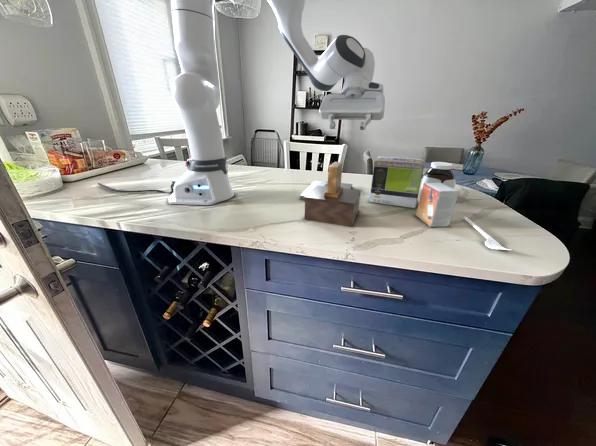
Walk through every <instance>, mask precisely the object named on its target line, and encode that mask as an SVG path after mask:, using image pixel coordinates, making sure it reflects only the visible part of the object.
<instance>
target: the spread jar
mask: <svg viewBox="0 0 596 446" xmlns="http://www.w3.org/2000/svg"><path fill="white" fill-rule="evenodd" d="M453 165H454V164H453V163H450V162H446V161H432V162H431V164H430V167H429V168H428V169H426V171H425V172H424V173H423V175H422V180H421V189H422V188H423V184H424V183H443V184H444V185H446V186H449V187H451V188H453V189H455V187H456V185H457V182H456V179H455V173H454V172H453V170H452V169H453Z"/></svg>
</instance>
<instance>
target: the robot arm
mask: <svg viewBox="0 0 596 446" xmlns="http://www.w3.org/2000/svg"><path fill="white" fill-rule="evenodd" d="M223 1H224V2H225V0H170V12H171V21H172V31H173V32H172V34H173V42H174V43H173V44H174V49H175V51H176V55H177V58H178V61H179V66H180V69H181V73H180V74H178V75H177V76H176V77H174V78H173V80H172V82H171V85H170V94H171V98H172V100H173V101H174V103H175V104H176V107H177V111H178V113H179V117H180V119H181V122H182V125H183V127H184V131H185V133H186V138H187V144H188V147H189V154H190V157H188V159H187V160H186V161H185V163H184V164H185V167H186V168H187V170H186V171H185V172H183V174H182V175H180V176H179V177H178V178H176V179H174V180H171V184H170V190H171V191H169V192H168V191H163V190H161V189H140V190H138V189H137V190H125V189H124V190H123V189H115V188H111V187H109V186H107V185H105V184H103V183H101V182H97V185H99V186H100V187H102V188H104V189H108V190H110V191H112V192H118V193H149V192H158V193H161V194H170V196H168V198H167V200H168V204H170V205H189V206H190V205H191V206H195V205H196V206H212V205H215V204H217V203H221V202H224V201H227V200H230V199H232V198H233V197H234V196H235V193H234V190H233V188H232V185H231V181H230V178H229V166H228V160H227V156H226V154H225V146H224V140H223V138H224V137H223V133H222V129H221V125H220V121H219V117H218V113H217V109H218V107H219V105H220V103H221V92H220V79H219V72H218V71H219V70H218V64H217V63H218V62H217V53H216V34H215V33H216V32H215V30H216V29H215V11H214V7H215V3H219V2H223ZM266 1H267V2H268V4H269V5H270V7H271V8H272V11H273V13H274V15H275V17H276V19H277V27H278V30H279V32H280V34H281V36H282V37H283V39H284V41H285V43H286V44H287V46H288V47H289V48H290V50H291V52H292V53H293V54H294V56H295V58H296V59H297V61H298V62H299V64H300V65H301V66H302V68H303V69H304V71H305V72H306V75H307V77H308V78H309V80H310V83H311V84H312V86H313V87H314V88H315V89H316V90H319V91H321V92H329V91H331V90H332V89H333V88H334V87H335V86H336V84H338V82H339V81H340V80H341V79H343V80H344V82H343V85H342V89H341V92H340V93H328V94H326V95H324V96H323V97H322V101H321V103H320V107H319V109H318V114H319V116H320V118H321V119H322V120H328V122H329V129H330V130H336V126H337V125H336V120H341V121H342V120H345V121H360V125H359V130H360V131H366V127H367V126H368V125H369V124H370V123H372V121H381V120H382V119H384V117H385V105H386V98H385V94H384V85H383V83H379V82H374V81H373V79H374V75H375V67H376V64H375V63H376V61H375V56H374V53H373V52H372V51H371V49H369V48H367V47H364V46H362V45H363V44H361V43H360V42H359V41H358V39H356V38H355V37H354V36H352V35H348V34H340V35H339V34H338V35H337V36H336V38H334V39H333V41H332V42H331V43H330V44H329V45H328V47H327V48H326V50H325V51H324V52H322V54H321V55H320V56H318V55H317V54H316V53H315V51H314V49H313V48H312V46H311V44H310V43H309V41H308V39H306V37H305V35H304V32H303V28H302V27H303V26H302V25H303V24H302V20H303V15H304V10H305V7H306V1H307V0H266Z"/></svg>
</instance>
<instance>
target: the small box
mask: <svg viewBox="0 0 596 446" xmlns="http://www.w3.org/2000/svg"><path fill="white" fill-rule="evenodd" d="M459 194H460V190H458V189H455V188H451V187H449V186H446V185H444V184H443V183H424V184H423V188H422V187H421V191H420V196H419V199H418V200H419V201H418V203H417V207H416V208H417V209H416V213H415V217H417V218H419V219H420V220H421V221H422V222H423V223H425V224H426V225H427V226H428V227H429V228H439V227H440V228H441V227H443V228H444V227H449V226H450V224H451V220H452V217H453V214H454V210H455V207H456V204H457V200H458V198H459Z"/></svg>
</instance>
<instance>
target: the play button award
mask: <svg viewBox="0 0 596 446" xmlns="http://www.w3.org/2000/svg"><path fill="white" fill-rule="evenodd" d="M317 185H319V186H328V181H324V180H323V181H321V180H313V181H312V182H311V183H310V185H309V186H308V187H307V188H306V189H304V190H303V192H302V193H301V194H300V200H304V201H305V199H304V197H305V196H306V195H307V194H308V193H309V192H310V191H311V190H312V189H313V188H315V187H316V186H317ZM341 187H343V188H345V189H353V183H346V182H345V183H344V182H341Z"/></svg>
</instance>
